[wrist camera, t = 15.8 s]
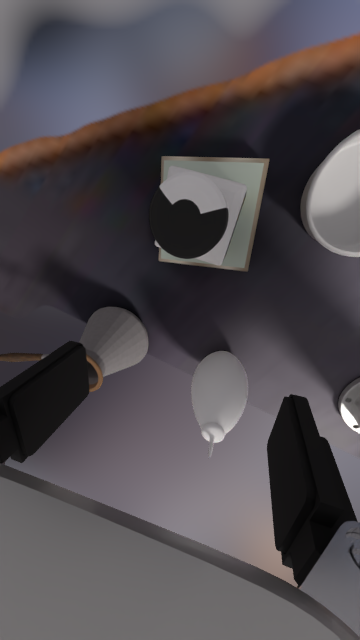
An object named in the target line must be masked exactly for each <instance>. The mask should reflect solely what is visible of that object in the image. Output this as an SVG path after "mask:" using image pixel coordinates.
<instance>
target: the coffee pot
mask: <svg viewBox="0 0 360 640" xmlns="http://www.w3.org/2000/svg"><path fill="white" fill-rule="evenodd" d="M79 343H81V344H83V346H84V347H85V349H86V357H87V368H88V378H89V388H90V390H89V392H93V391H95V390H97V389H98V388H99V387H101V384H102V382H103V377H104V376H107V375H109V374H112V373H115V372H117V371H120V370H123V369H125V368H128V367H130V366H133V365H135V364H137V363H139V362H140V361H141V360H142V359H143V358H144V356H145V355H146V353H147V350H148V345H149V342H148V334H147V331H146V328H145V326H144V325H143V323H142V322H141V320H140V319H139V318H138V317H137V316H136V315H135V314H133V313H132V312H130V311H128V310H126V309H123V308H120V307H105V308H101V309H99V310H97V311H96V312H94V313H93V314H92V316H91V317H90V318H89V320H88V323H87V325H86V328H85V330H84V333H83V335H82V337H81V340H80V342H79ZM48 355H49V354H29V353H28V354H27V353H9V354H1V355H0V360H1V361H9V362H18V361H34V360H42V359H43V358H45V357H46V356H48Z"/></svg>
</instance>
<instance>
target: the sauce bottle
mask: <svg viewBox="0 0 360 640" xmlns="http://www.w3.org/2000/svg"><path fill="white" fill-rule="evenodd" d="M247 397H248V379H247V375H246V372H245V369H244V367H243V365H242V364H241V362H240V361H239V360H238V358H237V357H235V356H234V355H233V354H231V353H230V352H227V351H217V352H214V353H211V354H209V355H208V356H206V357H205V358H204V359H203V360H202V361H201V362H200V363H199V365H198V366H197V368H196V370H195V373H194V375H193V379H192V386H191V398H192V405H193V410H194V413H195V416H196V419H197V421H198V424H199V425H200V427H201V433H202V435H203V437H204V438H205V439H206V440H207V441H209V452H208V454H209V458H210V457H211V454H212V449H213V444H214V443H217V442H220V441H222V440H223V439H224V437H225V434H226V433H228V432H229V431H230V430H231V429H232V428H233V427H234V426H235V425H236V423H237V422H238V420H239V419H240V417H241V415H242V413H243V411H244V408H245V405H246V401H247Z"/></svg>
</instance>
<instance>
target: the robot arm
mask: <svg viewBox="0 0 360 640" xmlns="http://www.w3.org/2000/svg"><path fill="white" fill-rule="evenodd" d="M89 390H90V388H89V378H88V368H87V357H86V349H85V347H84V346H83V344H81V343H77V342H74V341H69V342H67V343H66V344H64V345H63V346H61V347H60V348H58V349H57V350H55V351H54V352H52V353H51V354H49V355H48V356H46V357H45V358H43V359H42V360H40V361H39V362H37V363H36V364H34V365H33V366H31V367H30V368H28V369H27V370H25V371H24V372H22V373H21V374H19V375H18V376H16V377H15V378H13V379H12V380H10V381H9V382H7V383H6V384H4V385H3V386H1V387H0V640H360V522H357V519H356V516H355V513H354V511H353V508H352V505H351V503H350V500H349V497H348V495H347V492H346V489H345V486H344V483H343V481H342V478H341V476H340V473H339V470H338V467H337V464H336V462H335V459H334V456H333V453H332V451H331V448H330V445H329V443H328V441H327V440H326V439H325V438H323V437H320V436H319V433H318V430H317V427H316V424H315V421H314V418H313V415H312V412H311V409H310V406H309V403H308V400H307V398H305V397H301V396H297V395H292V394H291V395H290V396H289V397H284V399H283V402H282V404H281V407H280V410H279V413H278V415H277V418H276V421H275V424H274V426H273V429H272V432H271V434H270V437H269V440H268V444H267V453H268V466H269V476H270V477H269V478H270V489H271V501H272V512H273V523H274V524H273V525H274V536H275V546H276V549H277V550H278V551H281V555H282V564H283V565H285V566H287V567H290V568H292V569H293V574H294V580H295V581H296V582H297V584H298V586H297V587H294V586H292V585H291V584H289V583H288V582H286V581H284V580H282V579H280V578H278V577H276V576H274V575H272V574H270V573H267V572H265V571H264V570H261V569H259V568H257V567H255V566H253V565H251V564H248V563H246V562H243V561H241V560H239V559H236V558H234V557H232V556H230V555H227V554H225V553H222V552H220V551H218V550H215V549H213V548H211V547H209V546H206V545H204V544H201V543H199V542H196V541H194V540H191V539H189V538H186V537H184V536H182V535H179V534H177V533H174V532H172V531H169V530H167V529H164V528H162V527H159V526H157V525H154V524H152V523H149V522H147V521H145V520H142V519H140V518H137V517H135V516H132V515H130V514H127V513H125V512H122V511H120V510H117V509H115V508H112V507H110V506H107V505H105V504H102V503H100V502H97V501H95V500H92V499H90V498H87V497H85V496H82V495H80V494H77V493H75V492H72V491H70V490H67V489H65V488H62V487H59V486H57V485H55V484H52V483H49V482H47V481H44V480H42V479H39V478H37V477H34V476H32V475H29V474H26V473H24V472H21V471H18V470H16V469H14V468H11V467H9V466H6V465H5V461H6V460H7V459H8V458H9V457H11V459H13V460H16V461H18V462H20V463H22V462H24V461H25V459H26V458H27V457H28V456H31V455H33V454H34V453H35V452H36V451H37V450H38V449H39V448H40V447H41V446H42V445H43V443H44V442H45V441H46V440H47V439H48V438H49V437H50V436H51V435H52V433H54V432H55V430H56V429H57V428H58V427H59V426H60V425H61V424H62V423H63V422H64V421H65V420H66V418H67V417H68V416H69V415H70V414H71V413H72V412H73V411H74V410H75V409H76V408H77V407H78V406H79V405H80V403H81V402H82V401H83V400H84V399H85V398H86V397H87V395H88V394H89ZM338 409H339V412H340V415H341V416H342V418H343V420H344V422H345V423H346V424H347V425H348V426H349V427H350V428H351V429H353V430H354V431H356V432H358V433H360V378H358V379H356V380H354V381H353V382H351V383H350V384H349V385H348V386H347V387H346V388H345V389H344V390H343V392H342V393H341V395H340V397H339V401H338Z"/></svg>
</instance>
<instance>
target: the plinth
mask: <svg viewBox="0 0 360 640" xmlns="http://www.w3.org/2000/svg"><path fill="white" fill-rule="evenodd" d="M268 165H269V159H259V158H218V157H177V156H162V161H161V184H162V183H163V182H164V181H165V180H166V179H167V175H168V170H169V167H170V166H177V167H181V168H185V169H189V170H192V171H196V172H200V173H204V174H208V175H212V176H215V177H219V178H223V179H227V180H231V181H234V182H238V183H242V184H245V185H246V186H247V192H246V198H245V201H244V204H243V207H242V210H241V212H240V215H239V218H238V221H237V224H236V227H235V230H234V233H233V236H232V239H231V242H230V245H229V248H228V251H227V254H226V256H225V258H224V261H223V263H222V264H221V265H220V266H219V265H214V264H211V263H208V262H205V261H201V260H198V259H195V258H192V259H182V258H178V257H175V256H172V255H170V254H169V253H167V252H166V251H165V250H163V249H162V248H159V261H163V262H171V263H180V264H188V265H197V266H205V267H213V268H222V269H230V270H238V271H247V272H248V267H249V262H250V257H251V252H252V247H253V242H254V236H255V231H256V226H257V221H258V216H259V211H260V206H261V200H262V195H263V190H264V185H265V180H266V175H267V170H268Z"/></svg>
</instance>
